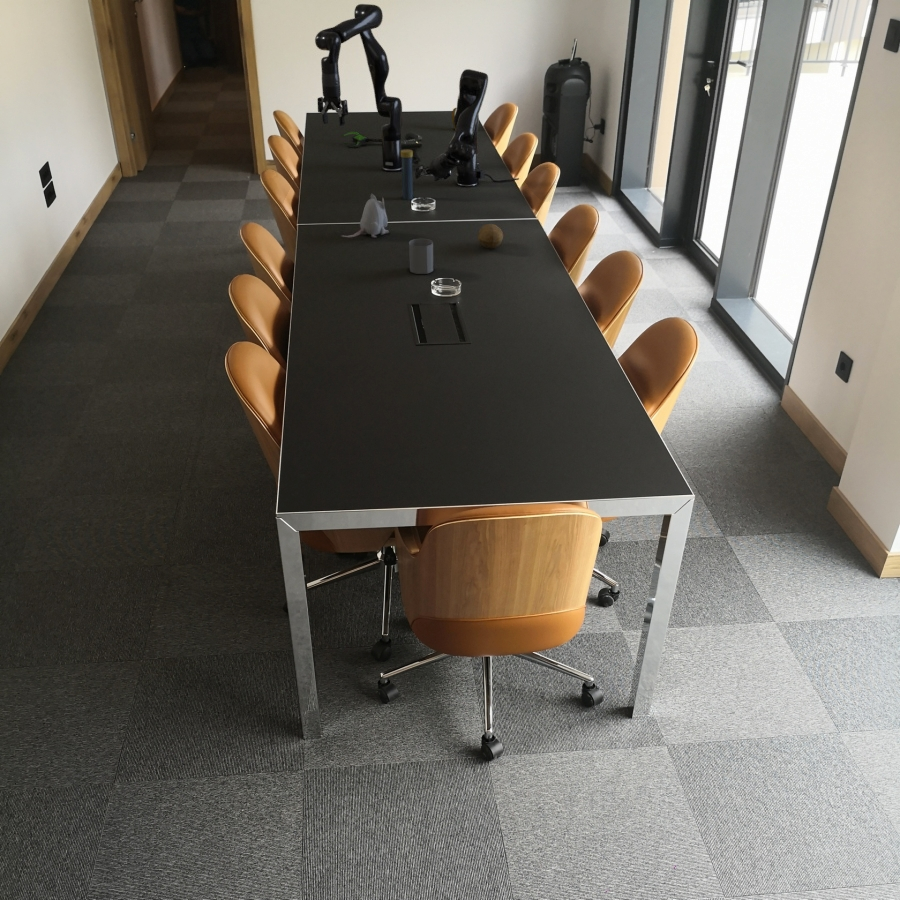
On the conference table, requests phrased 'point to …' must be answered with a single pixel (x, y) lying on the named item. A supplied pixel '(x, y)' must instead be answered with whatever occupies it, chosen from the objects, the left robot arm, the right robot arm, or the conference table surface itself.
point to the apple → (453, 116)
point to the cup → (421, 256)
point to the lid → (406, 153)
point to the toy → (373, 218)
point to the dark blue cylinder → (407, 178)
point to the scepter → (360, 139)
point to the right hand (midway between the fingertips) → (425, 177)
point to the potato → (490, 236)
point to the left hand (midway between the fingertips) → (333, 124)
